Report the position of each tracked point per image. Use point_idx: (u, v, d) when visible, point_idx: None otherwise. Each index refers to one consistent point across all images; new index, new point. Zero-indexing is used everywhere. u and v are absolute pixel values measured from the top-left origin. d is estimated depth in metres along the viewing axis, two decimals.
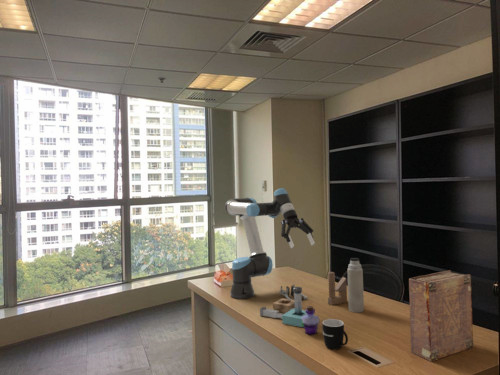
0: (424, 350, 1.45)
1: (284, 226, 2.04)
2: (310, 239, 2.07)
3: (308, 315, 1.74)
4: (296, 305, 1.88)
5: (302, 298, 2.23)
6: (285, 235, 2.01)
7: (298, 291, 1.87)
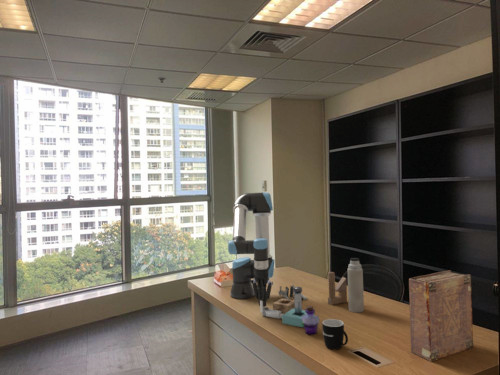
0: (424, 350, 1.45)
1: (254, 288, 2.01)
2: None
3: (308, 315, 1.74)
4: (296, 305, 1.88)
5: None
6: (258, 299, 2.01)
7: (298, 291, 1.87)
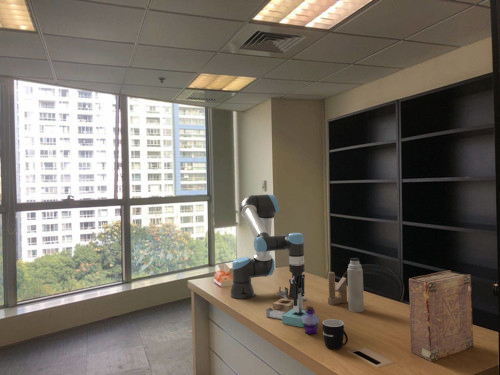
0: (424, 350, 1.45)
1: (295, 288, 1.84)
2: None
3: (308, 315, 1.74)
4: None
5: None
6: (295, 299, 1.85)
7: (298, 291, 1.87)
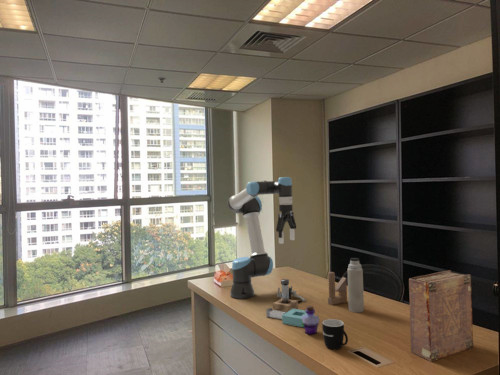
0: (424, 350, 1.45)
1: (281, 221, 2.06)
2: (292, 234, 2.18)
3: (308, 315, 1.74)
4: (283, 296, 2.04)
5: (300, 300, 2.19)
6: (280, 231, 2.05)
7: (285, 283, 2.03)
